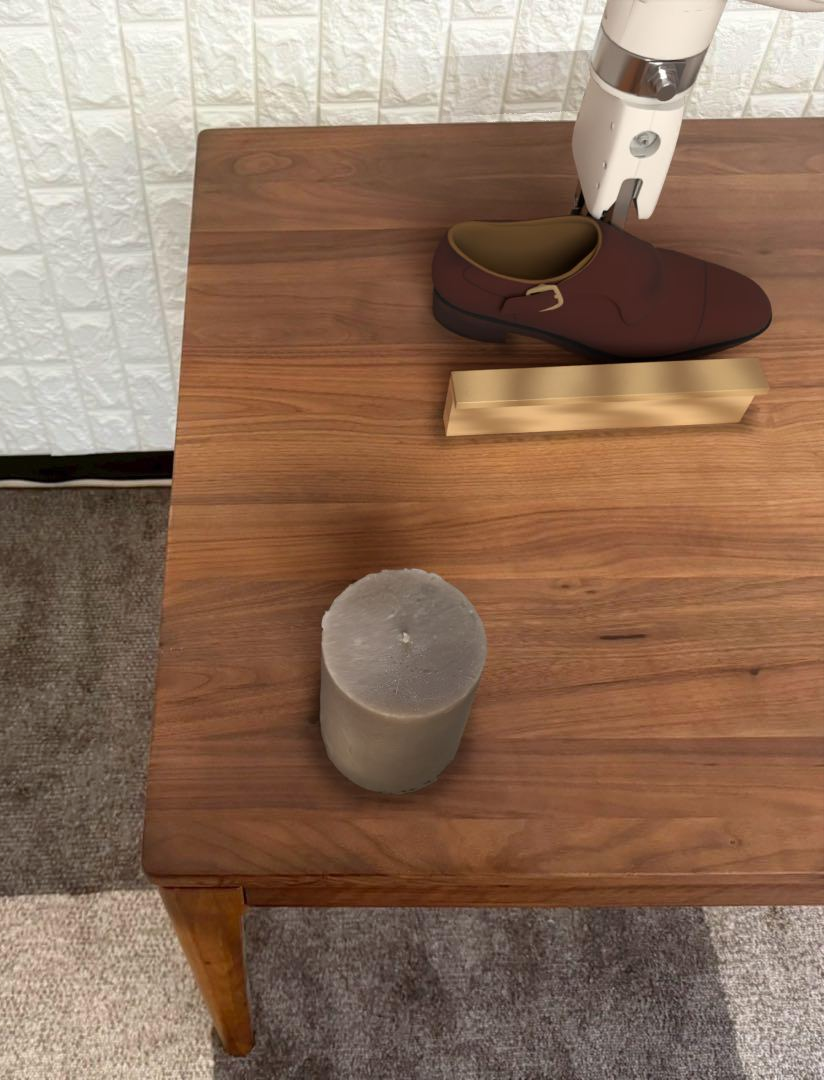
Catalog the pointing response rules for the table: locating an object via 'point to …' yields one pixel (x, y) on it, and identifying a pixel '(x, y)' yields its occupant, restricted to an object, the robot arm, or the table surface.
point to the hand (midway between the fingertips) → (580, 252)
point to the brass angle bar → (602, 396)
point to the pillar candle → (398, 678)
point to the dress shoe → (590, 291)
